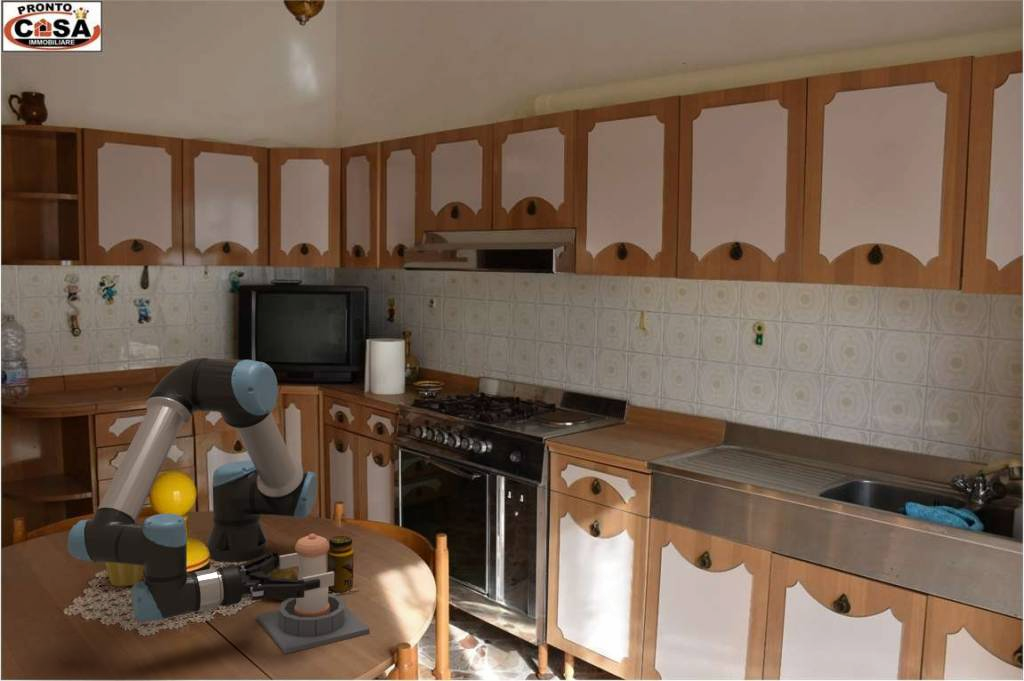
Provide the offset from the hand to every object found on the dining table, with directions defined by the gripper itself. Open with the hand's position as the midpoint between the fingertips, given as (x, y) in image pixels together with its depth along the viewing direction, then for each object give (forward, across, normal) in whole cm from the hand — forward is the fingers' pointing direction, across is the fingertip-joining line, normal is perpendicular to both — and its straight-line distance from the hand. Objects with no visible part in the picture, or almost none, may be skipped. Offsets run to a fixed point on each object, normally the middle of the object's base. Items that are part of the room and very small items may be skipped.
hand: (321, 567), depth 180 cm
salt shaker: (-2, 0, -12) cm, 12 cm away
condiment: (+10, -16, -13) cm, 23 cm away
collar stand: (-2, 0, -13) cm, 13 cm away
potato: (-2, -18, -13) cm, 22 cm away
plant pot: (-31, -44, -13) cm, 55 cm away
